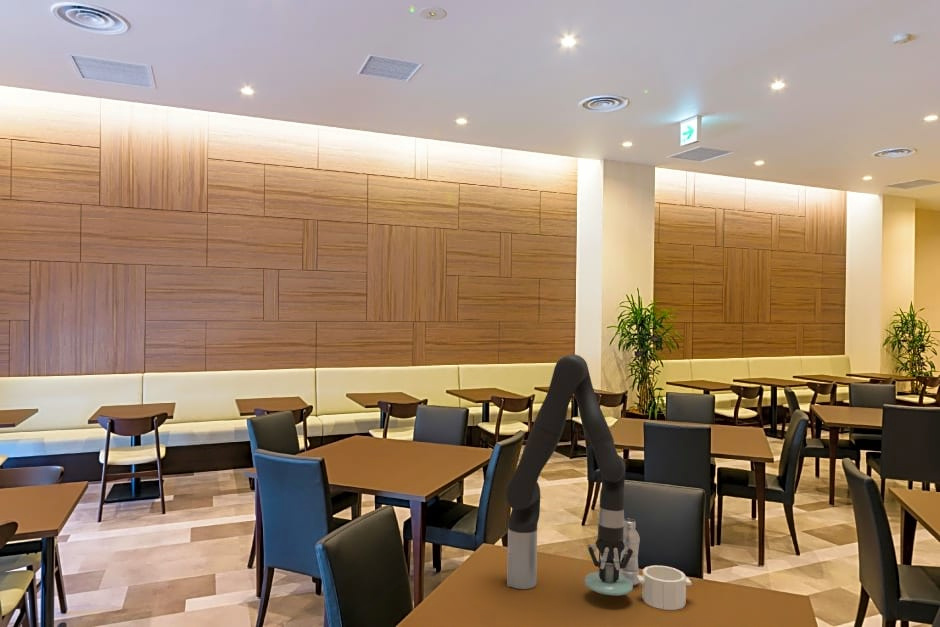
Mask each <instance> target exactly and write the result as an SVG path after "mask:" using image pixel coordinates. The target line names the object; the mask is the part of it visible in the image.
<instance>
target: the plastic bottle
mask: <svg viewBox="0 0 940 627" xmlns="http://www.w3.org/2000/svg"><path fill="white" fill-rule="evenodd" d="M636 526H637V525H636V520H635V519H633V518H624V534H623V542H624V545H625V546H627V547H631V549H632V551H633V553H632V555H631V557H630V560H629V562H628V564H627V566H626V568H621V569H620V570H619V575H622V576H624V577H626V578H628V579H629V580H630V581H631V582H632V583H633V587H634V586H637V585H638V584H639V581H638V579H637V575H639V576H640V571H639V570H640V569H639V560H638V559H639V557H638V556H639V549H640V548H639V546H640V541H641V540H640V539H641V538H640V535H639V533H638V531H637V530H636ZM624 554H625V553H624V549H623V551H622V552H621V553H620V560H619V562H621V560H622V558H623V556H624Z"/></svg>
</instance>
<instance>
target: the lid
mask: <svg viewBox="0 0 940 627" xmlns="http://www.w3.org/2000/svg"><path fill="white" fill-rule="evenodd" d="M604 569H605V580H604V581H602V580H601V579H600V577H599V571H594V572H591V573H588V574H586V575H585V577H584V584H585V586H586V587H587V588H588V589H590V590H592V591H594V592H596V593H598V594H602V595H607V596H624V595H627V594H630V593H632V591H633V589H634V586H633V583H632V582H631V581H630V580H629V579H628V578H626V577H624V576H622V575H619V579H618V580H617V582H614V563H611V562H605V567H604Z"/></svg>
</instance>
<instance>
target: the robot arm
mask: <svg viewBox="0 0 940 627" xmlns="http://www.w3.org/2000/svg"><path fill="white" fill-rule="evenodd" d="M590 375H591V374H590V371H589V366H588V363H587V361H586V360H585V359H584V357H583V356H581V355H579V354H572V353H571V354H569V355H565V356H563V357H561V358H560V359H558V361H556V363H555V365H554V369H553V372H552V375H551V376H552V377H551V380H550V383H549V387H548V390H547V393H546V395H545V398H544V400H543V402H542V403H541V406H540V408H539V410H538V412H537V415H536V417H535V418H534V421H533V424H532V426H531V429H530V431H529V434H528V436H527V440H526V442H525V445H524V448H523V450H522V454H521V457H520V459H519V462H518V464H517V466H516V469H515V470H514V473H513V475H512V476H511V478H510V479H509V482H508V484H507V486H506V488H505V493H504V494H505V500H506V504H507V505H508V506H509V507H510V508H511V512H510V515H509V517H508V520H507V550H506V551H507V553H506V556H507V557H506V562H507V563H506V587H511V588H513V589H518V590H529V589H530V590H531V589H533V588H535V587H536V586H537V580H538V579H537V577H538V576H537V573H538V572H537V570H538V569H537V566H538V565H537V564H538V562H537V561H538V557H537V556H538V555H537V554H538V525H539V524H538V523H539V519H540V514H541V489H540V484H539V482H538V480H539V477H540V475H541V473H542V471H543V469H544V468H545V466H546V465H547V463H548V462H549V460H550V458H551V457H552V456H553V454H554V452H555V451H556V448H558V445H559V442H560V440H561V437H562V434H563V431H564V429H565V426H566V420H567V415H568V409H569V405H570V403H571V400H572V398H573V396H574V398H575V400H576V404H577V407H578V410H579V415H580V419H581V422H582V423H581V424H582V427H583V430H584V432H585V434H586V436H587V439H588V442H589V443H590V446H591V448H592V451H593V453H594V454H593V455H594V457H595V461H596V464H597V467H598V470H599V473H600V475H601V489H600V493H599V508H598V509H599V510H598V515H597V516H598V517H597V522H598V523H597V537H596V538H597V540H596V541H595V543H594V544H587V546H586V548H587V550H588V553H589V555H590V557H591V560H592V563H593V565H594V566H595V567H597V568H598V572H599V577H600V579H601V580H602V581H604V580H605V569H604V567H605V563H607V560H608V559H609V558H611V559H613V564H614V582H617V580H618V579H619V570H620V569H621V568H626V566H627V564H628V562H629V560H630V557H631V555H632V553H633V551H632V549H631V547H627V546H625V545H624V542H623V534H624V519H625V512H624V508H625V507H624V506H625V494H624V491H625V490H624V488H625V480H626V470H627V469H626V462H625V459H624V458H623V457H622V456H621V455H619V454H618V452H617V450H616V446H615V439H614V438H613V437H614V436H613V434H612V432H611V430H610V427H609V424H608V422H607V420H606V418H605V415H604V414H603V411H602V409H601V405H600V404H599V402H598V399H597V395H596V392H595V390H594V387H593V383H592V379H591V376H590ZM596 549H597V550H598V551H599V553H600V556H599V560H597V558H596V555H595V553H596V552H597V550H596ZM623 549H624V553H625V554H624V556H623V558H622V560H621V559H619V557H620V555H621V552H622V551H623ZM620 561H621V562H620Z"/></svg>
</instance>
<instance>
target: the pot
mask: <svg viewBox="0 0 940 627" xmlns="http://www.w3.org/2000/svg"><path fill="white" fill-rule="evenodd" d="M637 579H638V581H639V582H638V584H642V585H641V587H642V588H641V590H642V591H641V599H642V600H643V602H644V603H646V604H647V605H649V606H651V607H652V608H657V609H660V610H664V611H666V610H667V611H676V610H680V609H681V610H682V609H684V607H685V605H686V602H687V601H686V600H687V599H686V598H687V586H692V585H693V584H692V583H693V582H692V581H691V580H690V578H689V577H687V576H686V574H685V573H684V572H683V571H681V570H679V569H677V568H674V567H671V566H666V565H656V564H655V565H649V566H645V567H644V568H643V569H642V575H640V574H639V575H637Z"/></svg>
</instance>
